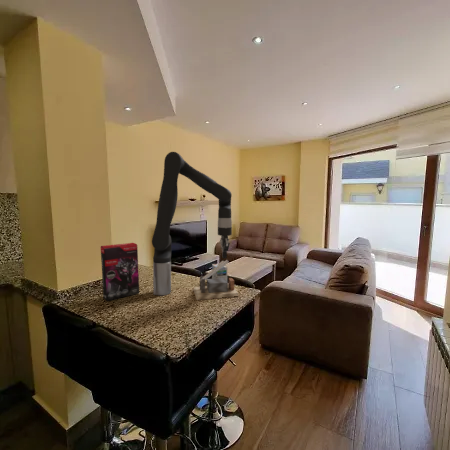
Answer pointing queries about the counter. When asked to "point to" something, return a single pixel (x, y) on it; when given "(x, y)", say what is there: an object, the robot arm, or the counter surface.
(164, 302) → the counter surface
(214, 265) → the light bulb box
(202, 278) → the strap
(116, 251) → the graphics card box
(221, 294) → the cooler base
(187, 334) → the counter surface
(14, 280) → the counter surface
